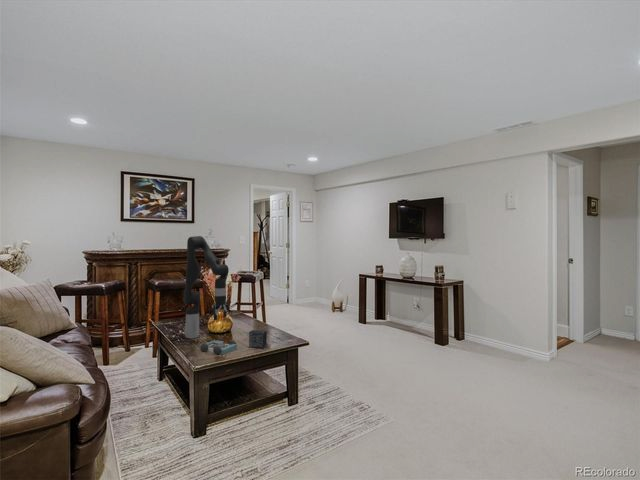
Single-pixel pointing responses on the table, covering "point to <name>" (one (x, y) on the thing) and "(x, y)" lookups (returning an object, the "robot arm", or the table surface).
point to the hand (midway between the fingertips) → (220, 318)
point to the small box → (257, 339)
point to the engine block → (219, 344)
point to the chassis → (217, 349)
